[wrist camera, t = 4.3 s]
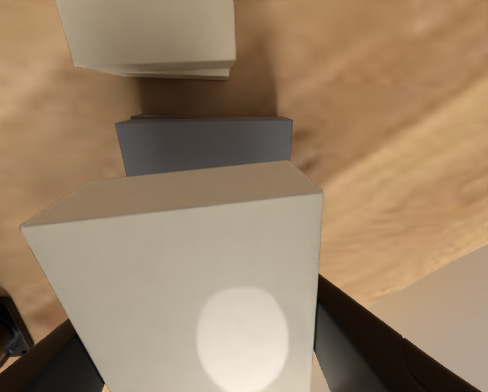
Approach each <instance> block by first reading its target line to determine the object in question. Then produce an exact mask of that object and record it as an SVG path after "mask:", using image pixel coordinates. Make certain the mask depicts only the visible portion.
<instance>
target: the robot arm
mask: <svg viewBox="0 0 488 392" xmlns="http://www.w3.org/2000/svg"><path fill="white" fill-rule="evenodd" d="M313 349H314V352H315V354H316V357H317V359H318V361H319V364H320V366H321V369H322V371H323V374H324V376H325V379H326V381H327V384H328V386H329V389H330V391H331V392H481V391H480V390H478V389H477V388H475V387H474V386H472V385H471V384H469V383H468V382H466V381H465V380H463V379H462V378H460V377H459V376H457V375H456V374H454V373H453V372H451V371H450V370H449V369H447V368H445V367H444V366H443V365H441V364H440V363H439V362H437V361H436V360H434V359H433V358H432V357H430V356H429V355H427V354H426V353H425V352H423V351H422V350H421V349H419V348H418V347H416V346H415V345H414V344H413V343H411V342H410V341H408V340H407V339H405V338H403V337H402V335H400V334H399V333H398V332H396V331H395V330H394V329H392V328H391V327H390V326H388V325H387V324H386V323H384V322H383V321H382V320H380V319H379V318H378V317H376V316H375V315H374V314H372V313H371V312H370V311H368V310H367V309H366V308H364V307H363V306H362V305H360V304H359V303H358V302H356V301H355V300H354V299H352V298H351V297H350V296H348V295H347V294H346V293H344V292H343V291H342V290H340V289H339V288H338V287H336V286H335V285H334V284H332V283H331V282H329V281H328V280H327V279H325V278H324V277H323V276H321V275H320V274H319V273H318V288H317V303H316V318H315V333H314V348H313ZM16 356H21V357H20V358H19V359H18V360H16V361H15V362H14V363H13V364H11V365H10V366H9V367H8V368H6V369H5V370H4V371H3V372H2V373H0V392H102V390H103V387H104V384H105V382H104V380H103V378H102V377H101V375H100V373H99V371H98V370H97V368H96V366H95V364H94V362H93V361H92V359H91V357H90V355H89V353H88V352H87V350H86V348H85V346H84V344H83V343H82V341H81V339H80V337H79V335H78V334H77V332H76V330H75V328H74V326H73V325H72V323H71V321H70V319H69V318H68V319H67V320H66V321H64V322H63V323H62V324H61V325H60V326H58V327H57V328H56V329H55V330H53V331H52V332H51V333H50V334H48V335H47V336H46V337H45V338H44V339H42V340H41V341H40V342H39V343H37V344H36V345H35V346H33V344H32V342H31V340H30V338H29V336H28V334H27V332H26V330H25V328H24V326H23V324H22V322H21V320H20V318H19V316H18V314H17V313H16V311H15V309H14V307H13V305H12V303H11V301H10V300H9V299H8V298H5V297H0V368H1V367H2V366H3V365H4V364H5V362H6V361H7V360H8V359H9V357H16Z"/></svg>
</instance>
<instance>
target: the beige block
mask: <svg viewBox="0 0 488 392" xmlns="http://www.w3.org/2000/svg"><path fill="white" fill-rule="evenodd" d="M55 3H56V6H57V9H58V13H59V16H60V19H61V23H62V26H63V30H64V33H65V36H66V40H67V43H68V46H69V50H70V53H71V56H72V60H73V63H74V65H75V66H77V67H81V68H86V69H90V70H95V71H100V72H104V73H110V74H114V75H119V76H123V77H149V78H178V79H206V80H228V78H229V68H233V66H234V63H235V61H236V39H235V19H234V0H55Z"/></svg>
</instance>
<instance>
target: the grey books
mask: <svg viewBox="0 0 488 392" xmlns="http://www.w3.org/2000/svg"><path fill="white" fill-rule="evenodd" d="M292 124H293V120H291V119H288V118H285V117H268V116H217V115H166V114H140V115H136V116H131V119H130V120H126V121H122V122H118V123H115V126H116V130H117V135H118V139H119V144H120V148H121V153H122V157H123V162H124V166H125V171H126V175H127V177H131V176H141V175H150V174H160V173H169V172H179V171H188V170H198V169H207V168H217V167H226V166H236V165H245V164H255V163H264V162H274V161H283V160H289V161H290V152H291V138H292Z"/></svg>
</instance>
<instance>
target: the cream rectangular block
mask: <svg viewBox="0 0 488 392" xmlns="http://www.w3.org/2000/svg"><path fill="white" fill-rule="evenodd" d="M323 198H324V192H323V190H322V189H321V188H320V187H318V186H317V185H316V184H315V183H314V182H313V181H312V180H311V179H309V178H308V177H307V176H306V175H305V174H304V173H303V172H302V171H301V170H299V169H298V168H297V167H296V166H295V165H294V164H293V163H292V162H291V161H289V160H283V161H274V162H264V163H255V164H245V165H236V166H226V167H217V168H207V169H198V170H188V171H179V172H169V173H160V174H150V175H141V176H131V177H122V178H112V179H103V180H93V181H88V182H87V183H85V184H83V185H82V186H80V187H79V188H77V189H76V190H74V191H73V192H71V193H69V194H68V195H66V196H65V197H63V198H62V199H60V200H59V201H57V202H55V203H54V204H52V205H51V206H49V207H48V208H46V209H45V210H43V211H41V212H40V213H38V214H37V215H35V216H34V217H32V218H30V219H29V220H27V221H26V222H24V223H23V224H21V225H20V226H19V229H20V231H21V233H22V235H23V237H24V238H25V240H26V242H27V244H28V245H29V247H30V249H31V251H32V253H33V254H34V256H35V258H36V260H37V262H38V263H39V265H40V267H41V269H42V271H43V272H44V274H45V276H46V278H47V280H48V281H49V283H50V285H51V287H52V289H53V290H54V292H55V294H56V296H57V298H58V299H59V301H60V303H61V305H62V307H63V308H64V310H65V312H66V314H67V316H68V317H69V319H70V321H71V323H72V325H73V326H74V328H75V330H76V332H77V334H78V335H79V337H80V339H81V341H82V343H83V344H84V346H85V348H86V350H87V352H88V353H89V355H90V357H91V359H92V361H93V362H94V364H95V366H96V368H97V370H98V371H99V373H100V375H101V377H102V378H103V380H104V382H105V384H106V386H107V387H108V389H109V391H110V392H311V378H312V363H313V348H314V333H315V318H316V303H317V288H318V273H319V258H320V243H321V228H322V213H323Z"/></svg>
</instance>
